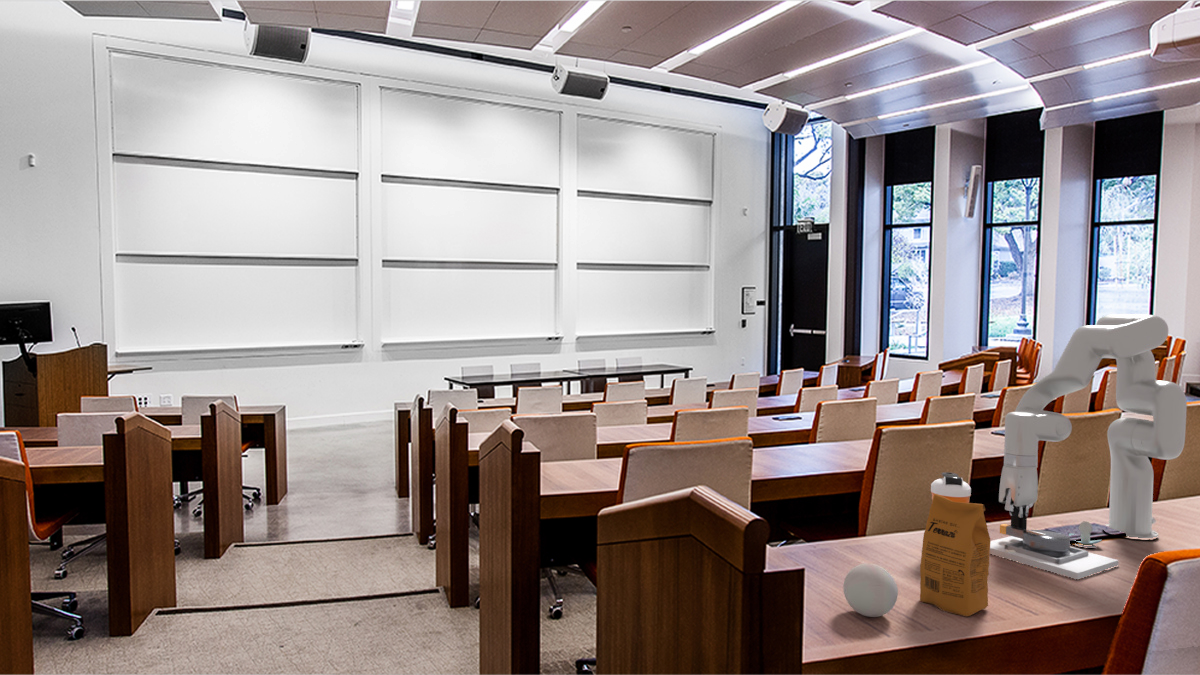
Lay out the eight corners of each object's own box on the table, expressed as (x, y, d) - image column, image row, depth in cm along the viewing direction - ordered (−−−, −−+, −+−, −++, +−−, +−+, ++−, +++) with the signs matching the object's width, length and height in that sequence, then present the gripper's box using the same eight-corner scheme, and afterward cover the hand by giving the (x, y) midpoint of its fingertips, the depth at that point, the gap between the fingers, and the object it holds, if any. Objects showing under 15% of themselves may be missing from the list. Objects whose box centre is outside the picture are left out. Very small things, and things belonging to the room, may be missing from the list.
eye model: (835, 605, 155) (836, 557, 155) (883, 604, 156) (884, 556, 155) (854, 626, 145) (855, 573, 145) (906, 625, 146) (907, 573, 145)
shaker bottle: (961, 550, 191) (963, 471, 191) (975, 562, 182) (977, 479, 182) (924, 549, 192) (926, 470, 191) (936, 561, 183) (938, 478, 183)
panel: (1018, 540, 201) (1018, 530, 201) (1118, 566, 180) (1118, 555, 180) (977, 550, 192) (977, 540, 191) (1077, 580, 171) (1078, 568, 171)
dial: (1078, 554, 184) (1079, 537, 184) (1055, 561, 179) (1056, 543, 179) (1013, 537, 198) (1013, 521, 198) (990, 542, 193) (990, 526, 193)
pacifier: (1094, 552, 192) (1104, 547, 195) (1095, 528, 192) (1104, 523, 195) (1063, 545, 198) (1072, 540, 201) (1063, 521, 197) (1073, 517, 201)
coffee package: (941, 591, 164) (943, 489, 163) (996, 611, 153) (999, 502, 152) (910, 599, 159) (913, 494, 158) (965, 620, 148) (968, 508, 147)
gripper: (1022, 455, 203) (1020, 523, 203) (989, 460, 195) (987, 531, 196) (1051, 460, 196) (1049, 531, 197) (1018, 466, 189) (1015, 539, 189)
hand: (1018, 531), depth 196 cm, fingers closed
